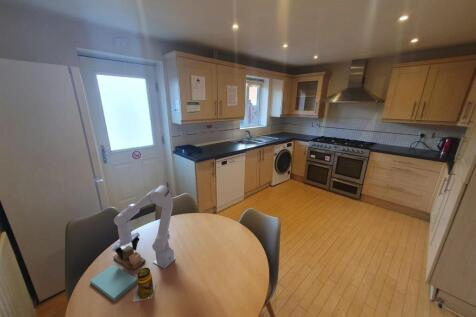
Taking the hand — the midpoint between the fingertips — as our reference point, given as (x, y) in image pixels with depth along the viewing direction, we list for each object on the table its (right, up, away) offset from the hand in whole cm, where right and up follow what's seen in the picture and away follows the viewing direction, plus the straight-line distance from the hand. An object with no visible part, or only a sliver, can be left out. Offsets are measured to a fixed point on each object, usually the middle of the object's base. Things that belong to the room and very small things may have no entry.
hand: (128, 254), depth 105 cm
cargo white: (-5, -2, +3) cm, 6 cm away
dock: (+1, -8, -13) cm, 15 cm away
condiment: (+18, -9, -18) cm, 27 cm away
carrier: (0, -5, +1) cm, 5 cm away
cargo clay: (+5, -3, -2) cm, 6 cm away
